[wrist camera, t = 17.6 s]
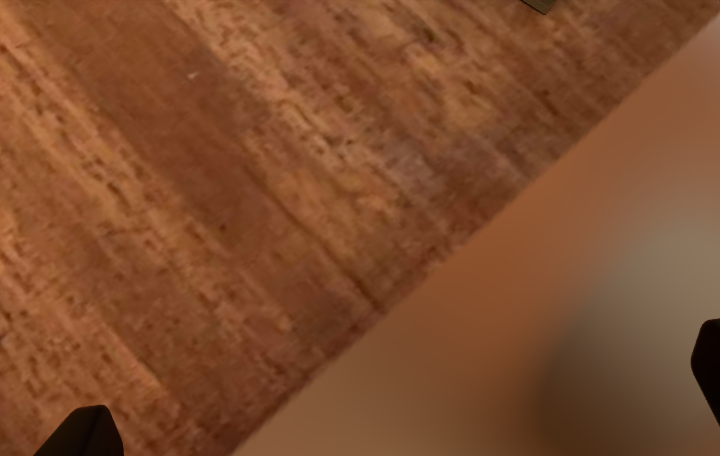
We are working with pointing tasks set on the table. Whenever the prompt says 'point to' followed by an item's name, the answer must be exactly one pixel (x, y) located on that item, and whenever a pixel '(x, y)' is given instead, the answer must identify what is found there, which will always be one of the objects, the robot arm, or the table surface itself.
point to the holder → (540, 4)
